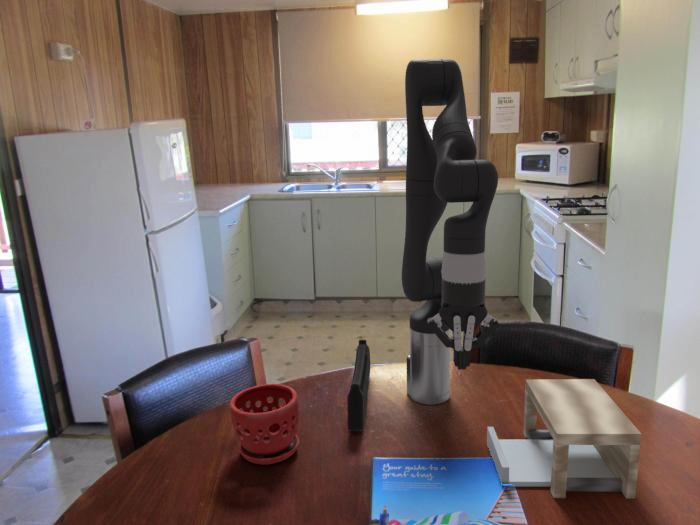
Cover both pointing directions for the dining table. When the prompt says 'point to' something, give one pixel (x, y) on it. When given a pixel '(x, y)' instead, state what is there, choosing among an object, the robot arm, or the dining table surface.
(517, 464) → the slab
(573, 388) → the small table
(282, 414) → the plant pot
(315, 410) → the dining table surface
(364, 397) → the magazine
